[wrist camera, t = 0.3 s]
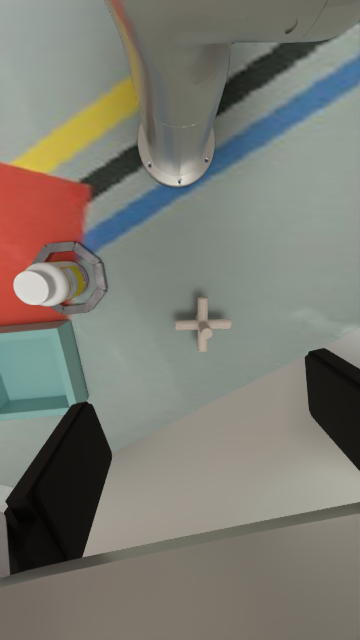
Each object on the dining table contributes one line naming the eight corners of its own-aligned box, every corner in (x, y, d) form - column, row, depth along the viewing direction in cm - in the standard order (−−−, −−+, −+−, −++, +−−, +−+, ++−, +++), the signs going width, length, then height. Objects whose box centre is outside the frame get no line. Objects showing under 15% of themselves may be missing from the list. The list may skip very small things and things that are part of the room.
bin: (-19, 328, 45) (-45, 337, 39) (70, 319, 45) (56, 328, 39) (8, 404, 50) (-12, 421, 44) (88, 396, 50) (78, 413, 44)
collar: (28, 246, 41) (23, 246, 39) (99, 239, 41) (96, 239, 39) (46, 314, 44) (42, 316, 43) (111, 308, 44) (109, 310, 43)
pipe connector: (175, 340, 47) (176, 362, 37) (174, 293, 44) (175, 304, 34) (223, 339, 47) (236, 360, 37) (224, 292, 44) (239, 302, 34)
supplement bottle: (48, 285, 43) (-2, 297, 30) (61, 254, 41) (13, 253, 29) (81, 302, 44) (45, 320, 31) (95, 272, 42) (63, 278, 30)
